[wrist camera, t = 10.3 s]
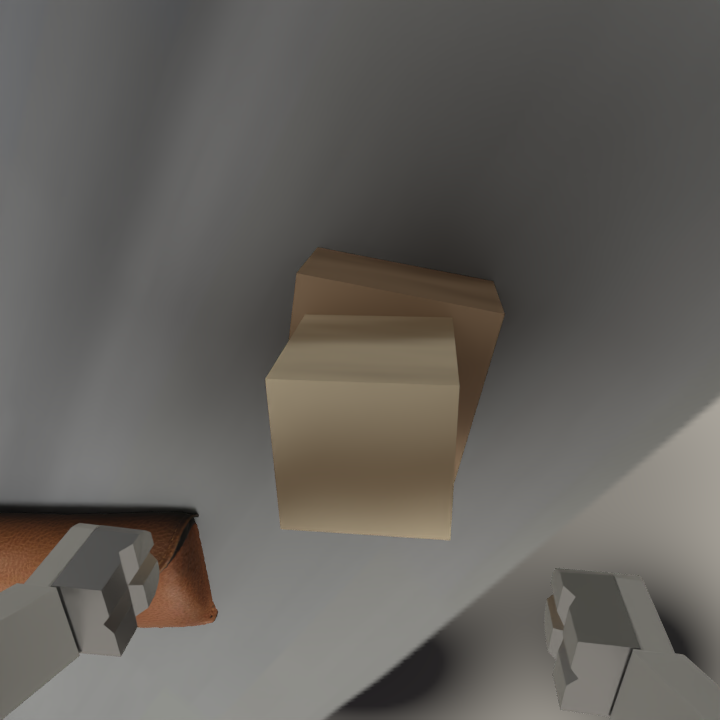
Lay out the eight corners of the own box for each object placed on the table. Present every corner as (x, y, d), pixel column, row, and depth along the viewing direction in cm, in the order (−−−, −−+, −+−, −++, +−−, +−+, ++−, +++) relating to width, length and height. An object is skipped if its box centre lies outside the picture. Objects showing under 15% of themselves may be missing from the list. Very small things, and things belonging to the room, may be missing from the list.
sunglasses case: (-52, 612, 34) (-170, 659, 27) (-44, 496, 34) (-157, 514, 28) (227, 623, 31) (171, 677, 25) (229, 498, 32) (175, 518, 25)
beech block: (304, 314, 19) (265, 379, 14) (452, 317, 18) (459, 385, 14) (313, 438, 21) (280, 529, 16) (445, 444, 20) (450, 540, 16)
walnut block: (318, 245, 22) (296, 273, 18) (492, 279, 21) (504, 313, 18) (298, 396, 25) (276, 445, 21) (450, 427, 25) (454, 482, 21)
